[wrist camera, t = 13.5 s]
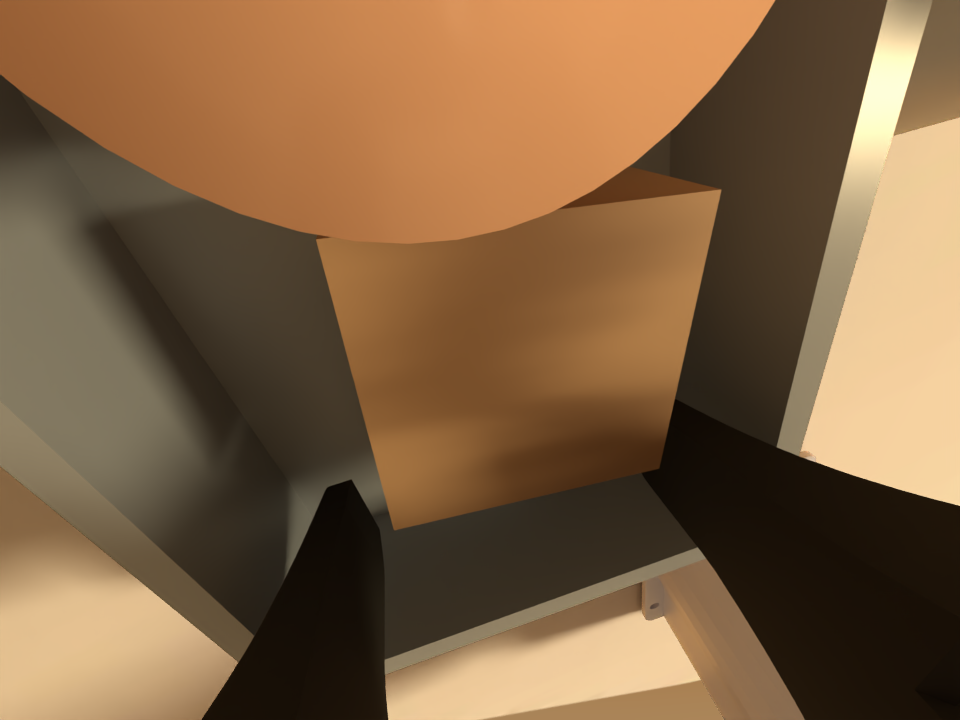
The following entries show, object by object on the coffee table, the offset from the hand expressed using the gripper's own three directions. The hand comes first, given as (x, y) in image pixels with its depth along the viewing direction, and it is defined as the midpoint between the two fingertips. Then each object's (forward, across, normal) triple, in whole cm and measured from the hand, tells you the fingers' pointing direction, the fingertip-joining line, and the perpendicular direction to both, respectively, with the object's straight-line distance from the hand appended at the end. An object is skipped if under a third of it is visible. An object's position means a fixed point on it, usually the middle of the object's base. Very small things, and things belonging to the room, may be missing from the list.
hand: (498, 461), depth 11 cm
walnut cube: (0, 0, -2) cm, 2 cm away
